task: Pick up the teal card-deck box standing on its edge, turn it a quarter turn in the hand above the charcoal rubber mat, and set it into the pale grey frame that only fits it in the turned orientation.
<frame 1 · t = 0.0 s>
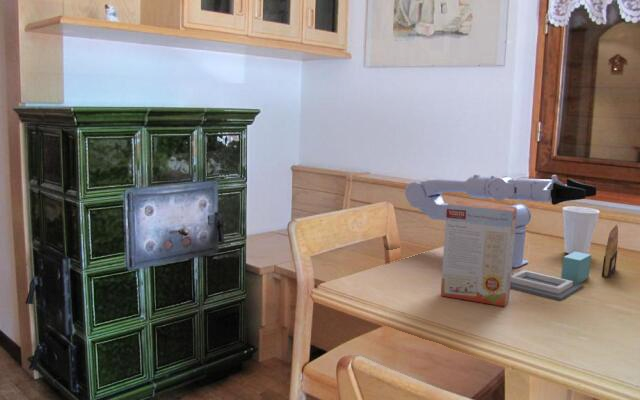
hand: (590, 192, 150), 22 cm above the table, tool horizontal, fingers open, 7 cm apart
cracker box: (474, 299, 136), on the table
ammunition clip: (608, 273, 161), on the table
cup: (575, 254, 179), on the table
card case: (574, 279, 154), on the table
mat: (540, 286, 147), on the table
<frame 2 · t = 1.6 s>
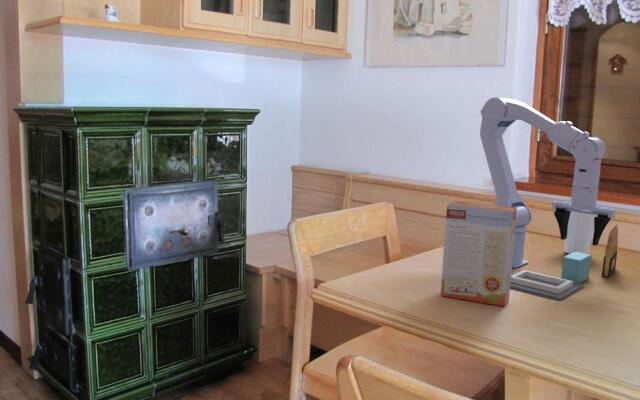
hand: (579, 241, 152), 9 cm above the table, tool pointing down, fingers open, 7 cm apart
nothing on the table moved.
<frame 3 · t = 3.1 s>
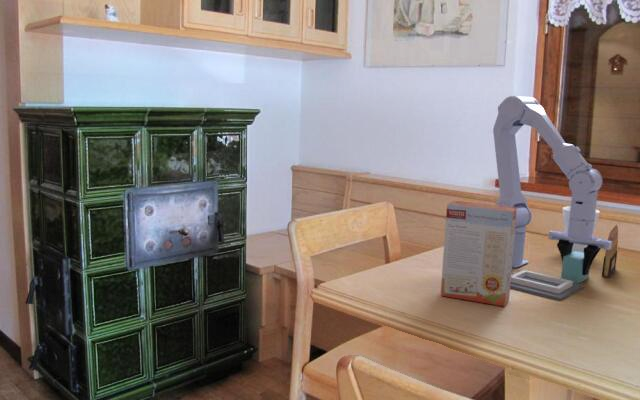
hand: (575, 272, 154), 2 cm above the table, tool pointing down, fingers closed on card case, 4 cm apart
card case: (574, 278, 154), on the table, touching gripper
everything else where it was.
when the fingers open (4 cm above the table, at t = 8.6 s): card case drops 2 cm, resting on mat.
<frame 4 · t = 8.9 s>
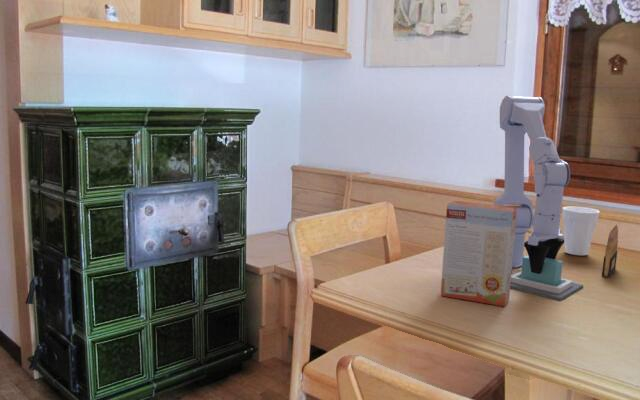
hand: (541, 270, 146), 4 cm above the table, tool pointing down, fingers open, 6 cm apart
card case: (540, 283, 147), point 1 cm above the table, touching mat
everything else where it was.
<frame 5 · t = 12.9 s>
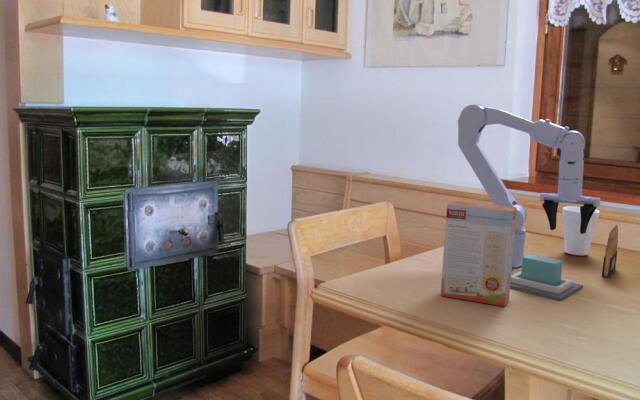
hand: (567, 231, 159), 10 cm above the table, tool pointing down, fingers open, 7 cm apart
nothing on the table moved.
at the end: card case 0.1 cm off-centre on the mat, point 0.6 cm above the mat's base; card case tilted 0°; the gripper is holding nothing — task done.
